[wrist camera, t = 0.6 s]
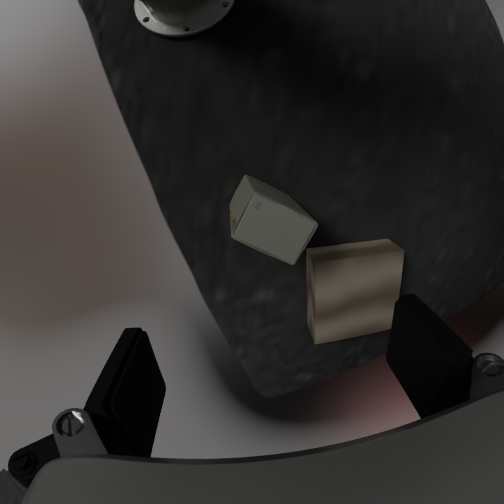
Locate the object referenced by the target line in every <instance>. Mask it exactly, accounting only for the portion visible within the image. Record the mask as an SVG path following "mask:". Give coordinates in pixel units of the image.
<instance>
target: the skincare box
mask: <svg viewBox="0 0 504 504" xmlns="http://www.w3.org/2000/svg"><path fill="white" fill-rule="evenodd" d="M230 222H231V236H232V238H234V239H236V240H237V241H239V242H241V243H243V244H245V245H247V246H250V247H252V248H254V249H256V250H259V251H261V252H263V253H265V254H268V255H270V256H272V257H275V258H277V259H279V260H282V261H284V262H287V263H289V264H292V265H294V264H295V262H296V261H297V259H298V258H299V256H300V255H301V253H302V251H303V250H304V248H305V247H306V245H307V243H308V242H309V240H310V239H311V237H312V235H313V234H314V232H315V230H316V228H317V227H318V224H317V222H316V221H315V220H314V219H313V218H312V217H311V216H309V215H308V214H307V213H306V212H305V211H304V210H303V209H302V208H301V207H300V206H299V205H298V204H297V203H296V202H295V201H294V200H293V199H292V198H291V197H290V196H288V195H287V194H285V193H283V192H281V191H279V190H278V189H276V188H274V187H272V186H270V185H268V184H266V183H264V182H261V181H259V180H257V179H255V178H253V177H251V176H248V175H244V177H243V179H242V180H241V182H240V184H239V186H238V188H237V190H236V192H235V194H234V196H233V198H232V200H231V202H230Z"/></svg>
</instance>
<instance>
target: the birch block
mask: <svg viewBox="0 0 504 504" xmlns="http://www.w3.org/2000/svg"><path fill="white" fill-rule="evenodd" d="M403 259H404V250H403V249H401V248H400V247H399V246H397V245H396V244H395V243H393V242H392V241H390V240H389V239H382V240H374V241H366V242H357V243H349V244H341V245H333V246H324V247H316V248H308V249H306V264H307V304H308V327H309V330H310V332H311V335H312V337H313V340H314V343H315V344H320V343H326V342H331V341H337V340H342V339H347V338H352V337H357V336H362V335H366V334H371V333H375V332H380V331H384V330H388V329H391V326H392V319H393V312H394V305H395V302H396V301H397V300H398V299H399V293H400V286H401V278H402V269H403Z"/></svg>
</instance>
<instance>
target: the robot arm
mask: <svg viewBox="0 0 504 504" xmlns="http://www.w3.org/2000/svg"><path fill="white" fill-rule="evenodd" d="M234 2H235V0H135V2H134V10H135V15H136V17H137V19H138V21H139V22H140V23H141V25H142V26H144V27H145V28H146V29H147V30H148V31H150V32H152V33H154V34H156V35H160V36H163V37H170V38H177V37H187V36H192V35H195V34H199V33H202V32H204V31H206V30H208V29H210V28H212V27H214V26H215V25H217V24H218V23H219V22H221V21H222V20H223V19H224V18H225V17H226V16H227V15H228V13H229V12H230V11H231V9H232V7H233V5H234ZM224 6H227V7H224ZM147 21H148V22H147ZM146 22H147V23H146ZM186 30H189V31H187V32H186ZM472 352H473V351H472V350H471V349H470V348H469V347H468V346H467V345H466V344H465V343H464V341H463V340H462V339H461V338H460V337H458V335H457V334H456V333H455V332H454V331H453V330H452V329H451V328H450V327H449V326H447V324H446V323H445V322H444V321H442V320H441V319H440V318H439V317H438V316H437V315H436V314H435V313H434V312H433V311H432V310H431V309H430V308H429V307H428V306H427V305H426V304H425V303H424V302H423V301H421V300H420V299H419V298H418V297H417V296H416V295H415V294H408V295H403V296H400V297H399V299H398V300H397V301H396V302H395V305H394V312H393V319H392V326H391V332H390V338H389V343H388V349H387V354H386V359H387V363H388V365H389V366H390V368H391V370H392V371H393V373H394V374H395V376H396V378H397V379H398V381H399V382H400V384H401V386H402V387H403V389H404V391H405V392H406V394H407V395H408V397H409V399H410V400H411V402H412V404H413V406H414V407H415V409H416V411H417V412H418V414H419V416H420V418H421V419H420V420H417V421H414V422H412V423H409V424H406V425H403V426H400V427H397V428H394V429H391V430H388V431H384V432H381V433H378V434H374V435H371V436H367V437H363V438H359V439H355V440H351V441H347V442H343V443H339V444H334V445H329V446H324V447H319V448H314V449H308V450H303V451H296V452H289V453H282V454H273V455H265V456H254V457H242V458H223V459H174V458H152V457H151V452H152V447H153V443H154V439H155V434H156V430H157V425H158V421H159V417H160V413H161V409H162V405H163V401H164V397H165V392H166V386H165V382H164V380H163V377H162V374H161V372H160V369H159V366H158V364H157V361H156V358H155V355H154V352H153V349H152V347H151V344H150V341H149V338H148V335H147V333H146V332H145V331H142V329H141V328H125V330H124V331H123V333H122V335H121V337H120V338H119V340H118V342H117V344H116V346H115V347H114V349H113V351H112V353H111V355H110V357H109V359H108V360H107V363H106V364H105V366H104V368H103V370H102V372H101V374H100V376H99V378H98V380H97V382H96V384H95V386H94V388H93V390H92V392H91V394H90V396H89V398H88V400H87V402H86V405H85V407H84V409H83V410H82V409H79V408H71V409H67V410H65V411H63V412H61V413H60V414H59V415H58V416H57V417H56V418H55V419H54V421H53V424H52V430H53V434H51V435H49V436H47V437H45V438H43V439H40V440H38V441H36V442H34V443H32V444H30V445H28V446H26V447H24V448H21V449H19V450H17V451H16V452H14V453H13V454H12V456H11V457H10V459H9V463H8V469H9V470H8V471H6V470H5V469H3V470H2V471H1V472H0V504H504V360H503V359H502V358H501V357H500V356H498V355H496V354H492V353H481V354H479V355H477V356H476V357H475V358H473V357H472V356H471V355H472Z"/></svg>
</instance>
